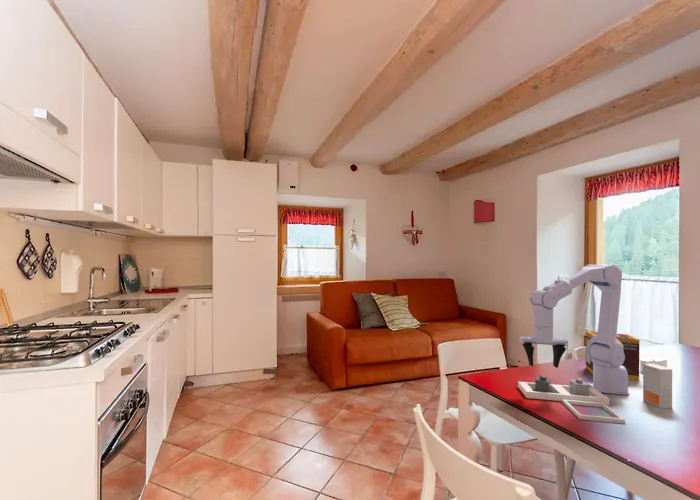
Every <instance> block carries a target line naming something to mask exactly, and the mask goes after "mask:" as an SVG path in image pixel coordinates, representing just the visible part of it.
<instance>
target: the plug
mask: <svg viewBox="0 0 700 500" xmlns="http://www.w3.org/2000/svg"><path fill="white" fill-rule="evenodd" d="M534 381H535V382H534V383H535V389H534V391H535V392H547V393H552V391H551V384H552V378H547V376H546V375H539V376H537V377H536V378H535V380H534Z"/></svg>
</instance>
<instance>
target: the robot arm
mask: <svg viewBox="0 0 700 500" xmlns="http://www.w3.org/2000/svg"><path fill="white" fill-rule="evenodd" d="M622 277H623V272H622V271H621V270H620V268H619V267H618V266H617V265H616V264H591V263H590V264H586V265H585V266H583V267H581V269H580V270H578V271H577V272H575V273H574V274H573V275H571V276H570V277H569V278H567V279H566V280H565V279H555V280H553V281H554V282H553V283H551V284H549V285H546V286H545V285H544V287H543V289H536V290H535V291H533V292H532V293H531V295H530V297H529V301H530V304H531V305H532V310H533V336H519V343H520V344H522V346H523V349H524V351H525V354H526V357H527V360H528V365H529V366H530V367H533V366H534V351H535V347H534V346H533V345H543V346H544V345H546V346H547V345H548V346H552V352H553V353H552V354H553V357H552V358H553V359H552V365H553V367H555V369H556V368H557V369H558V368H559V364H560V361H561V360H562V359H561V358H562V357H563V355H564V353H565V352H566V351H567V347H569V340H567V339H563V338H555V337H554V308H555V307H557V305H558V302H559V301H561V300H562V299H565V298H566V297H568V296H570V295H571V294H572V293H573V289H575V288H577V287H579V286H581V285H583V284H586V283H587V282H588V283H590V284H592V285H594V286H596V288H597V289H599V291H601V292H600V293H601V297H600V305H599V312H598V314H599V315H598V324H597V331H596V332H597V335H596V336H594V337H593V338H591V341H590V345H589V346H588V349H587V353H588V356H589V357H590V358H591V361H592V362H593V374H592V383H590V382H588V383H587V384H588V385H589V387H591V388H595V389H596V390H598V391H599V392H600V393H602V394H614V395H615V394H616V395H624V396H625V395H626V396H628V395H629V396H630V393H629V379H628V373H627V370H626V368H625V367H624V366H621V365H622V364H623V362H624V360H625V355H624V351H623V348H624V346H623V345H622V344H621V343H620V342H619V341H618V340H617V338H616V335H617V334H618V333H617V332H618V324H619V313H620V303H621V302H620V301H621V294H622V293H621V292H622V279H623V278H622ZM603 344H606V345H603ZM607 345H608V346H607Z"/></svg>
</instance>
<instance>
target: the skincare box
mask: <svg viewBox="0 0 700 500" xmlns="http://www.w3.org/2000/svg"><path fill="white" fill-rule="evenodd" d="M642 400H643V402H647V403H649V404H652V405H653V406H656V407H657V408H660V409H671V408H673V369H671V368H669V367H667V368H666V367H663V366H659V365H656V364H643V372H642Z"/></svg>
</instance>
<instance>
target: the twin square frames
mask: <svg viewBox="0 0 700 500" xmlns="http://www.w3.org/2000/svg"><path fill="white" fill-rule="evenodd" d="M517 383H518V385H517V387H518V389H519V390H520V391H521V393H522V394H523V395H524V396H525V398H527V399H536V400H547V401H559V402H563V399H564V400H575V401H586V402H597V403H604V404H605V405H607V406H610V398H609V397H608V396H606V395H604V393H602V392H599V391H598V390H596V389H595V388H592V387H591V386H589V396H582V395H571V394H570V385H565V384H563V385H562V384H554V383H553V384H552V383H551V393H547V392H535V382H531V381H530V382H527V381H517Z"/></svg>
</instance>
